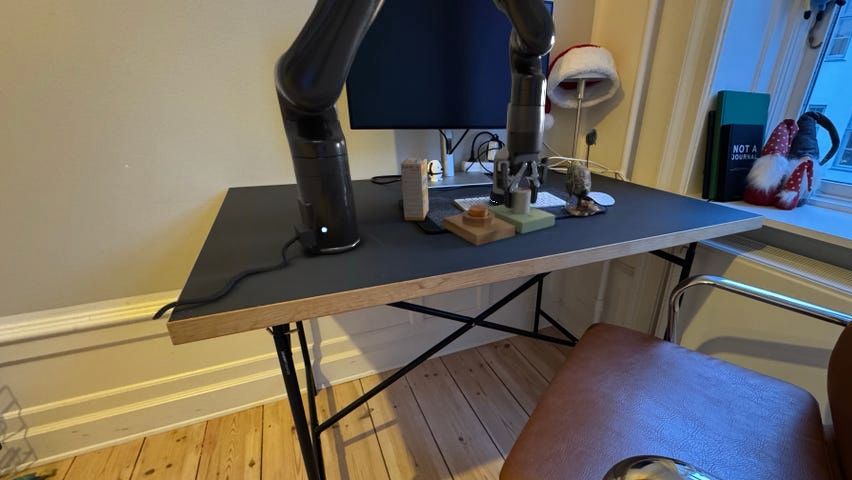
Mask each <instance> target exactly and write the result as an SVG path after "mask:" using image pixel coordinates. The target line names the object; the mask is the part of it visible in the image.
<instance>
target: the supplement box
mask: <svg viewBox="0 0 852 480" xmlns="http://www.w3.org/2000/svg"><path fill="white" fill-rule="evenodd" d="M400 174H401V175H400V176H401V187H402V188H401V189H402V200H403V201H402V203H403V215H404V216H403V217H404V221H425V218H426V216H427V214H428V212H429V209H430V208H429V207H430V206H429V185H428V183H429V182H428V180H429V179H428V158H425V157H408V158H406V159H405V160H404V161H402V162H401V163H400Z"/></svg>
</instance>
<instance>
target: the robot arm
mask: <svg viewBox="0 0 852 480" xmlns="http://www.w3.org/2000/svg"><path fill="white" fill-rule="evenodd" d="M386 1H387V0H317V1H316V3H315V5H314V7H313V9H312V11H311V13H310V15H309V16H308V18H307V20H306V21H305V23H304V25H303V26H302V28H301V30H300V31H299V33H298V35H297V36H296V37H295V39H294V40H293V41H292V43H291V45H290V46H289V47H288V48H287V50H286V51H284V52H283V53H282V54H280V55H279V57H278V58H277V59H276V61H275V64H274V67H273V82H274V86H275V87H274V88H275V92H276V96H277V97H276V98H277V101H278V105H279V111H280V116H281V120H282V124H283V128H284V133H285V137H286V142H287V144H288V149H289V153H290V156H291V157H290V158H291V162H292V166H293V167H292V168H293V172H294V176H295V177H294V178H295V183H296V186H297V191H298V196H297V198H296V199H297V203H298V209H299V213H300V218H301V222H302V223H300V224H294V225H293V227H294V231H295V236H294V237H293V238H291V239H290V240H288V241H287V242H286V243H285V244H284V245H283V247H282V249H281V256H282V261H281V262H280V263H279V264H278V265H276V266H272V267H264V268H252V269H247V270H244V271H241V272H239V273H237V274H236V275H234V276H233V277H232V278H230V279H229V281H228V282H227V283H226V285H225V286H224V287H223V288H222V289H221V290H219V291H218V292H215V293H213V294H211V295H207V296H203V297H198V298H189V299H181V300H175V301H173V302H169V303H167V304H165V305H164V306H162V307H161V308H160V309H159V310H157V312H156V313H155V314H154V315H153V317H152V319H151V320H152V321H155V320H158V319H160V318H162V317H163V316H164V314H166V312H168V311H170V310H171V309H174V308H177V307H181V306H187V305H197V304H203V303H207V302H208V303H209V302H212V301H214V300H217V299H218V298H220V297H222V296H224V295H226V294H227V293H228V292H229V291H230V289H231V288H232V287H233V285H234V284H235V283H236V282H237V281H238V280H239V279H241V278H243V277H245V276H249V275H253V274H260V273H261V274H262V273H266V272H272V271H276V270H279V269H282V268H284V267H285V266H286V265H287V264H288V261H289V259H288V258H289V257H288V255H287V250H288V249H289V247H291V245H293V244H294V243H295V242H297V241H298V243H299V245H300V246H301V247H302V248H303V249H304V248H309V250H310V251H311V252H312V253H313V255H315V256H316V255H321V254H323V255H325V254H326V255H327V254H328V255H330V254H339V253H345V252H348V251H351V250H353V249H355V248H357V247H358V246H360V244H361V237H360V232H359V226H358V220H357V219H358V218H357V211H356V204H355V197H354V188H353V182H352V174H351V168H350V161H349V154H348V146H347V139H346V136H345V134H344V132H343V129H342V125H341V121H340V114H339V108H338V100H339V99H340V98H341V95H342V92H343V89H344V87H345V84H346V81H347V78H348V75H349V73H350V70H351V67H352V65H353V62H354V60H355V57H356V56H357V52H358V50H359V49H360V48H359V47H360V45H361V43H362V42H363V39H364V38H365V36H366V34H367V33H368V31H369V29H371V26H372V25H373V24H374V22H375V20H376V19H377V17H378V16H379V14H380V12H381V10H382V9H383V6H384V4H386ZM492 1H493V3H494V5H495V6H496V9H498V11H500V12H502V13H504V14H505V15H506V16H507V19H508V20H509V22H510V24H511V25H512V29H511V31H510V36H509V45H508V52H509V53H508V54H509V65H510V66H509V67H510V75H511V85H510V86H511V87H510V88H511V89H510V101H509V103H510V104H511V105H510V111H509V118H508V138H507V150H508V153H509V156H508V159H507V161H503V162H501V161H497V162H496V186H497V188H498V189H501V190H503V191H504V205H505V207H506V208H509V209H511V208H513V204H514V192H513V191H514V189H515V186H516V184H517V183H518V184H519V183H520V182H521V179H524V178H526V179H527V182H528V185H529V186H527V187H528V188H529V189H530V190H531V198H530V205H531V204H532V205H535V204H536V203H537V200H538V194H539V188H540V186H542V185H545V184H546V182H547V177H548V172H549V171H548V170H549V164H550V158H549V157H547V156H542V155H540V153H541V152H542V150H543V141H544V129H545V116H546V115H545V105H546V93H547V91H546V90H547V78H546V76H545V75H544V73H542V57H544V56H545V55H547V54H548V53H549V52H550V51H551V50H552V48H553V46H554V44H555V43H556V36H557V35H556V34H557V33H556V32H557V31H556V26H555V21H554V19H553V17H552V14H551V12H550V10H549V8H548V7H547V5H546V3H545V2H544V0H492ZM508 167H509V169H508ZM507 171H508V172H507ZM512 175H513V176H514V178H513V177H512ZM510 183H511V184H510ZM509 185H510V186H509ZM177 301H178V303H177ZM176 304H177V305H176Z"/></svg>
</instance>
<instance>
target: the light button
mask: <svg viewBox="0 0 852 480" xmlns="http://www.w3.org/2000/svg"><path fill="white" fill-rule="evenodd" d="M488 208H489V207H488V206H487V205H482V204H475V205H474V204H473V205H470V206H469V207H468V210H469V216H472V217H485V216H488Z"/></svg>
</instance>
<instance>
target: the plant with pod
mask: <svg viewBox="0 0 852 480" xmlns="http://www.w3.org/2000/svg"><path fill="white" fill-rule="evenodd" d="M597 130H598V129H596V128H592V129H590V130H588V131H587V133H586V134H585V144H586V145H587V152H586V153H587V154H586V155H587V156H586V165H583V164H576V163H574V164H572V165H569V166H567V168H566V175H565V181H564V191H565V193H567V194H568V197H567V199H566V200H565V205H564V209H565V210H566V212H568V214H570V215H573V216H576V217H578V216H579V217H586V216H590V215H591V216H592V215H594V214H595V213H597V212H599V211H602V209H601V208H600V207H599V205H595V201H594V200H587V196H589V194H590V193H591V187H592V177H591V170H590V169H589V157H590V147H591V146H593V145H594V146H596V145H597V142H596V141H597V140H598V132H597ZM573 196H574V197H575V199H576V205H573V206H572V205H570V206H568V204H569V203H570V201H571V198H572V197H573ZM583 199H584V200H583ZM567 206H568V207H567Z"/></svg>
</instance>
